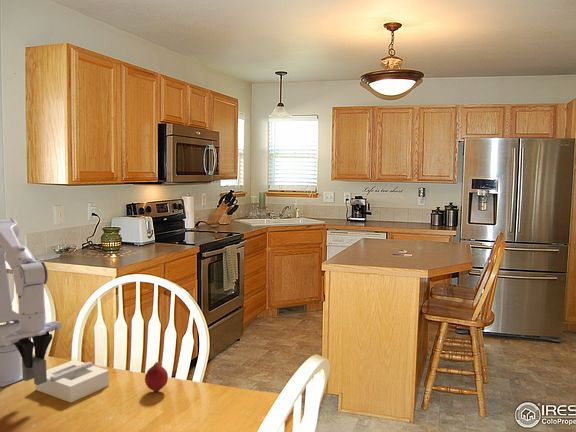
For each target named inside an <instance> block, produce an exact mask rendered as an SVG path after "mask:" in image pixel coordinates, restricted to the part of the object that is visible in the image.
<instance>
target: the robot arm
mask: <svg viewBox="0 0 576 432" xmlns="http://www.w3.org/2000/svg"><path fill="white" fill-rule="evenodd" d="M19 228H20V227H19V223H18V221H17V220H16V219H15V218H9V219H8V218H6V219H0V387H2V388H3V387H6V386H8V385H11V384H14V383H17V382H19V381H23V373H22V359H23V362H24V366H25V367H27V368H32V365H33V354H34V357H37V358H41V359H44V360H45V356H46V353H47V350H48V347H49V345H50V343H51V342H52V340H53V334H52V333H50V332H54V331H60V330H62V322H61V321H60V320H59V321H58V320H55V321H50V322H46V307H45V285H46V284H47V283H48V279H49V273H48V272H49V271H48V266H47V265H46V263H45V262H44V260H40V259H38V260H37V259H36V258H35V256H34V255H33V253H32V252H31V251H30V250H29V248H28V247H27V246H26V245H23V244H22V245H21V243H20V241H19V239H18V238H19V234H20V233H19V231H20V230H19ZM6 262H7V264H8V266H9V268H10V269H11V271H12V273H13V274H12V276H13V277H12V278H13V282H14V286H15V293H16V295H17V297H18V298H17V301H18V312H16V311H14V310H13V304H12V299H11V298H12V297H11V292H10V285H9V278H8V272H7V271H8V269H7V266H6ZM9 322H10V323H9ZM2 323H3V324H2ZM31 338H32V340H31Z"/></svg>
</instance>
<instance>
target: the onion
mask: <svg viewBox="0 0 576 432" xmlns="http://www.w3.org/2000/svg"><path fill="white" fill-rule="evenodd" d="M168 378H169V374H168V371H167V370H166V368H165V367H163V366H161V365H160V362H159V361H155V362H154V363H153V365H152V366H150V368H148V370H147V371H146V372H145V376H144V382H145V384H146V386H147V388H149V390H151V391H153V392H156V393H158V392H160V391H161V390H162V389H163V388H164V387H165V386H166V385H167V383H168Z"/></svg>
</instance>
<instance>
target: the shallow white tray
mask: <svg viewBox="0 0 576 432" xmlns="http://www.w3.org/2000/svg"><path fill="white" fill-rule="evenodd" d="M109 373H110V372H109V369H105V368H102V367H99V366H95V365H94V362H92V361H86V362H83V361H79V360H76V359H73V360H70V361H67V362H65V363H62V364H60V365H57V366H55V367H51V368H49V369H46V375H47V382H45V383H42V384H40V385H36V384H35V391H38V392H41V393H44V394H46V395H48V396H52V397H55V398H56V399H60V400H63V401H66V402H68V403H73V402H74V403H75V402H76V401H77V400H80V399H82V398H85V397H87V396H88V395H91V394H93V393H95V392H96V393H97V392H98V391H100V390H102V389H104V388H107V387H108V386H110V377H109V375H110V374H109Z"/></svg>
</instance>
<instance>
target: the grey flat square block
mask: <svg viewBox="0 0 576 432" xmlns="http://www.w3.org/2000/svg"><path fill="white" fill-rule="evenodd" d="M21 362H22V373H23V379H22V381H25V382H27V381H29V380H32V379H33V382H34V385H35V386H36V385H40V384H42V383H45V382H47V375H46V370H47V361H46V359H45V358H44V359H41V358H37V357H35V355H34V356H33V365H32V368H27V367H25V366H24V362H23V359H22V358H21Z"/></svg>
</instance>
